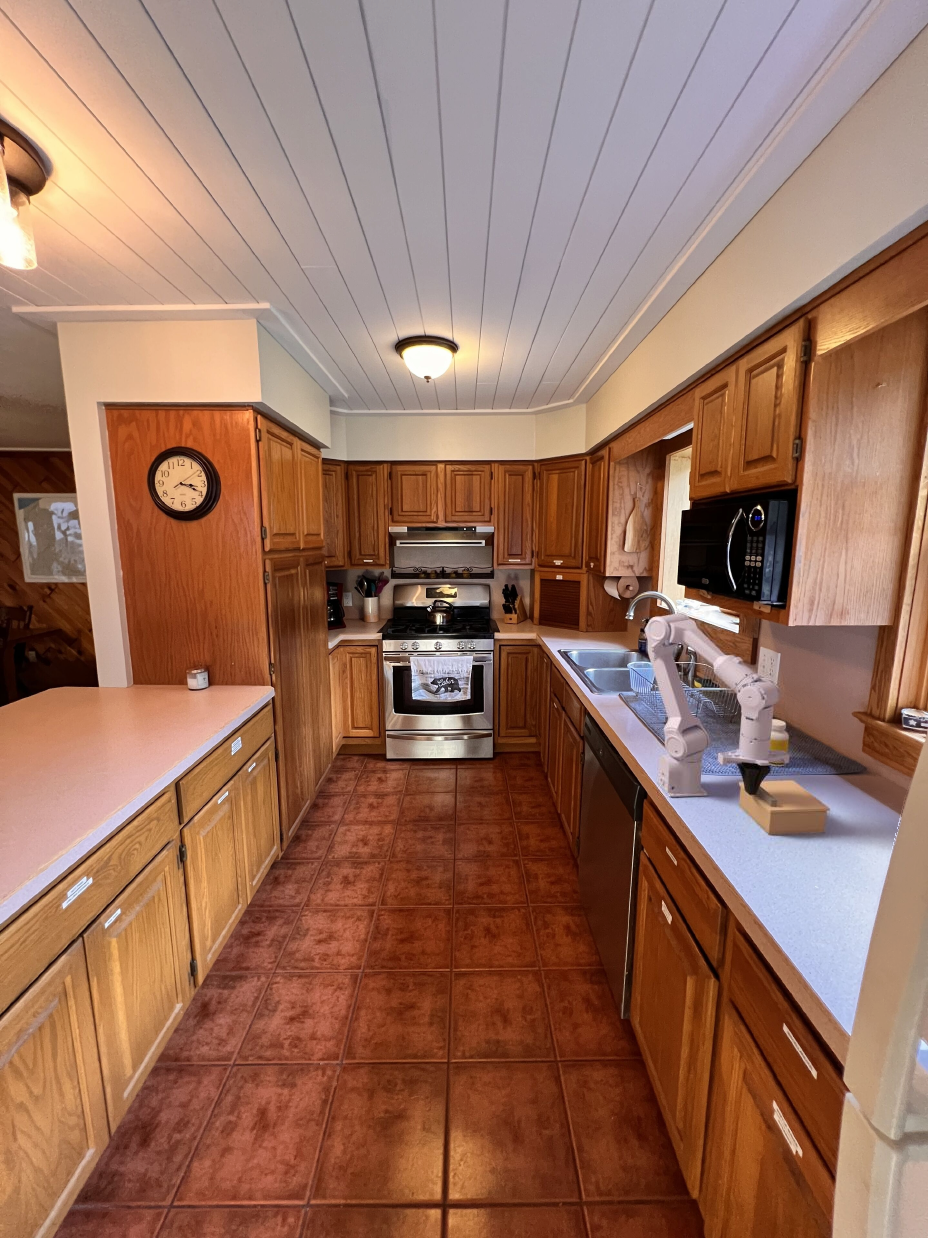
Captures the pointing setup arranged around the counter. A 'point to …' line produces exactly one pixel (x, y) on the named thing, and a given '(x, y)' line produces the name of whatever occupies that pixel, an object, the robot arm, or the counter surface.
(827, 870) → the counter surface
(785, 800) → the lid
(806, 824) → the mailer box
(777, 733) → the pill bottle
